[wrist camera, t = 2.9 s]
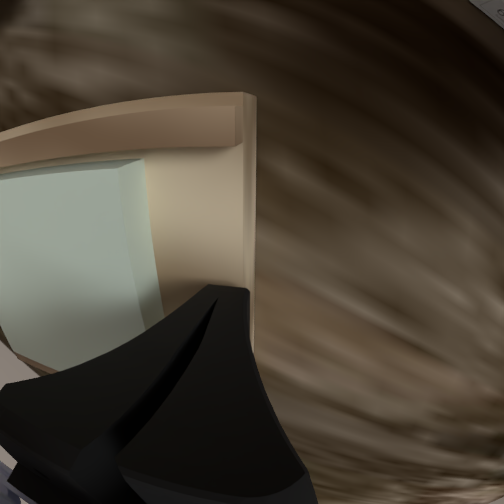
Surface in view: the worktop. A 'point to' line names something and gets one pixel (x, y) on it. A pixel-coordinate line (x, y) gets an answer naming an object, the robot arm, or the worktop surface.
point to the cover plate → (76, 260)
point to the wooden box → (168, 180)
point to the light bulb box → (492, 9)
